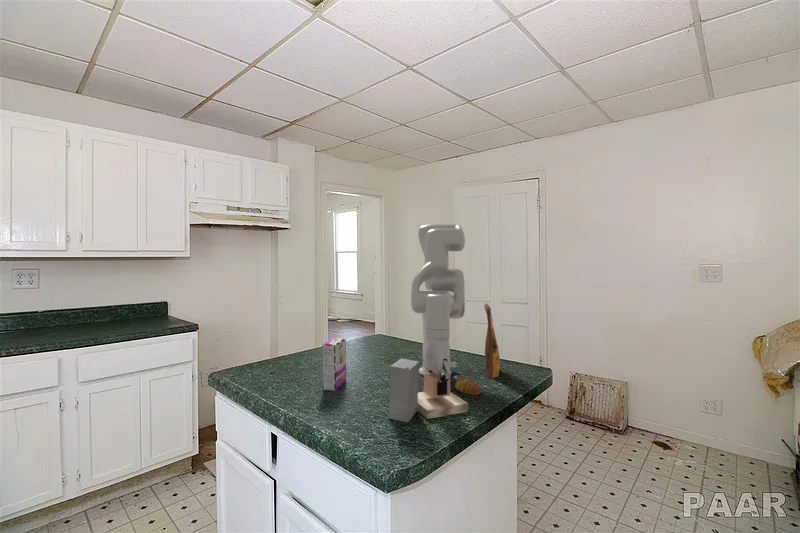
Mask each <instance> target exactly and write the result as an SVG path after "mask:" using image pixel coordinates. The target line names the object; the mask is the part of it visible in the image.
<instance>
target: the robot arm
mask: <svg viewBox="0 0 800 533" xmlns="http://www.w3.org/2000/svg"><path fill="white" fill-rule="evenodd" d="M417 235H418V241H419V245H420V247H421V250H422V253H423V257H424V265H423V266H422V267H421V268H420V269H419V270H418V271H417V273H416V274H415V276H414V277H413V279H412V282H411V292H410V306H411V309H412V311H413V312H414V313H415V314H419V315H421V318H422V367H419V375H421V376H424V373H428V372H434V373H437V374H438V380H439V382H437V395H446V394H447V382H448V379H449V377H450V378H451V376H452V371H451V368H456V367H457V365H458V364H457V362H456V361H451V348H450V320H458V319H462V318H463V317H464V315H465V312H466V311H465V307H466V305H465V304H466V303H465V300H466V299H465V294H466V293H465V290H466V289H465V288H466V287H465V276H464V272H463V271H462V270H461V269H459V268H454V267H453V268H449V260H450V259H449V252H462V251H463V250H464V248H465V244H466V236H465V232H464V229H463V228H462V226H461V225H460V224H457V223H456V224H450V223H448V224H446V223H445V224H444V223H443V224H442V223H435V224H434V223H432V224H431V223H430V224H424V225H421V226H420V227H419V228H418V234H417ZM423 283H424V286H425V289H426V290H420V287H421V286H422V284H423ZM443 373H444V375H443V376H442V377H441V374H443Z"/></svg>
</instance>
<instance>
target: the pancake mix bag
mask: <svg viewBox="0 0 800 533" xmlns="http://www.w3.org/2000/svg"><path fill="white" fill-rule="evenodd" d="M484 310H485V313H486V318H487V329H486V337H485V344H484V365H485V366H484V367H485V373H486V376H487V377H488V378H492V379H494V378H498V377H499V375H500V367H501V366H500V365H501V361H500V360H501V358H500V357H501V356H500V352H499V345H498V342H497V338H496V333H495V332H496V331H495V329H494V323H493V316H492V315H493V314H492V311H491V310H492V308H491V306H490V305H489V304H488V303H487V302H486V303H485V304H484Z"/></svg>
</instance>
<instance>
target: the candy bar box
mask: <svg viewBox="0 0 800 533" xmlns="http://www.w3.org/2000/svg"><path fill="white" fill-rule="evenodd" d="M346 341H347V340H346V338H345V337H333V338H332V339H329V340H328V341H326V342H325V343H323V344H322V382H323V383H322V388H323V391H326V390H327V391H329V392H337V391H338V389H340V387H341V386H343V384H344V383H346V381H347V350H346V349H347V348H346V347H347V344H346V343H347V342H346Z"/></svg>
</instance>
